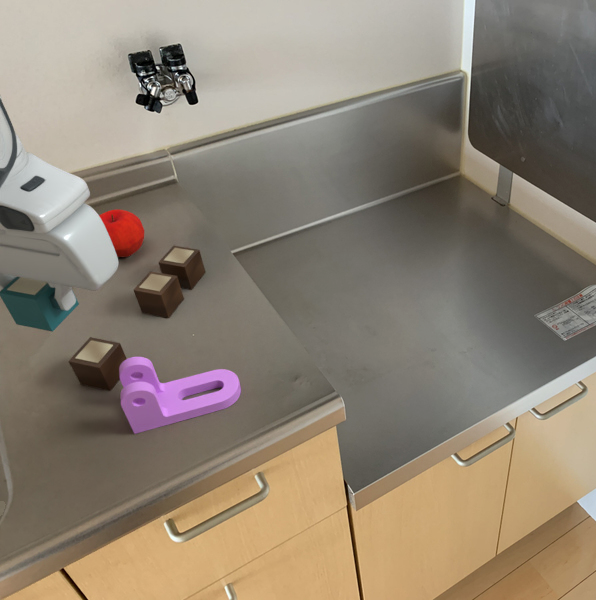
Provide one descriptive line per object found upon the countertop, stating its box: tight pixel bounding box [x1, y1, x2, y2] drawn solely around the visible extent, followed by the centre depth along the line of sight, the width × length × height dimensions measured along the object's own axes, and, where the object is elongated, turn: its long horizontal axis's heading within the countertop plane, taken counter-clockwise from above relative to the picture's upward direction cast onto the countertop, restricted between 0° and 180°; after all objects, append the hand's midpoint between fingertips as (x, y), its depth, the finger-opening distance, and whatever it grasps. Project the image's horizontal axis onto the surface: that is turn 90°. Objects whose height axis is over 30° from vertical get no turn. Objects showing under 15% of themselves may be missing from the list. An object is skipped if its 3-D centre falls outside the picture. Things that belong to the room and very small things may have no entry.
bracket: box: [119, 356, 242, 435], centre depth 74 cm, size 13×6×7 cm, turn 111°
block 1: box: [68, 336, 128, 392], centre depth 78 cm, size 4×4×4 cm
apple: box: [98, 208, 145, 258], centre depth 97 cm, size 8×8×7 cm
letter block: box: [0, 276, 80, 333], centre depth 63 cm, size 4×4×4 cm
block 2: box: [158, 245, 206, 291], centre depth 93 cm, size 4×4×4 cm
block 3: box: [133, 270, 185, 319], centre depth 88 cm, size 4×4×4 cm
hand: (42, 301), depth 64 cm, fingers closed on letter block, 4 cm apart
